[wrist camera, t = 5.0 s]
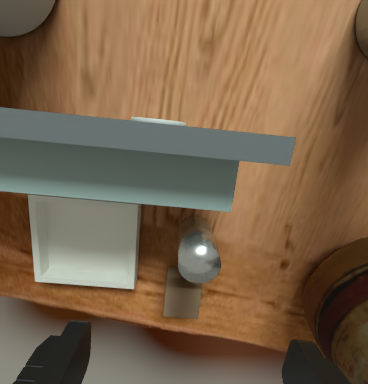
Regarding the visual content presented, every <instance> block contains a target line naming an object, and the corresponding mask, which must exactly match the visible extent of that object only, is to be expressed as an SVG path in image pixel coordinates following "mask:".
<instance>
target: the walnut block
mask: <svg viewBox="0 0 368 384" xmlns="http://www.w3.org/2000/svg"><path fill="white" fill-rule="evenodd" d="M201 292H202V287H201V283H192V282H190V281H188V280H186V279H185V278H184V277H183V276H182V275H181V274H180V272H179V269H178V267H173V266H168V271H167V281H166V291H165V302H164V313H163V316H164V317H178V318H192V319H198V314H199V307H200V300H201Z"/></svg>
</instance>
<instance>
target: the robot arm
mask: <svg viewBox="0 0 368 384" xmlns="http://www.w3.org/2000/svg"><path fill="white" fill-rule="evenodd" d="M356 36H357V41H358V44H359V46H360V48H361V50H362V51H363V52H364V54H365V55H366V56H367V57H368V0H362V1H361V3H360V6H359V9H358V12H357V17H356ZM90 349H91V322H84V321H73V320H71V321H69V323H68V324H67V326H66V327H65V329H64V331H63V332H62V334H61V336H53V335H51V336H50V337H49V338H47V339H46V340H45V341H44V342H43V343H42V344H40V345H39V346H38V347H37V348H36V349H35V351H34V352H33V354H32V356H31V357H30V359H29V360H28V362H27V363H26V366H25V367H24V368H23V369H22V371H21V373H20V374H19V375H18V377H17V379H16V381H15V382H14V383H13V384H81V383H82V380H83V378H84V375H85V373H86V370H87V366H88V363H89V357H90ZM282 378H283V383H284V384H351V383H350V382H349V380H348V379H347V378H346V376H345V375H344V373H343V372H342V371H341V370H340V369H339V368H338V367H337V366H336V365H335V364H334V363H333V362H332V361H331V360H330V359H329V358H324V356H323V355H322V353H321V352H320V350H319V349H318V347H317V346H316V344H315V343H313V342H312V341H302V340H292V341H291V342H290V345H289V348H288V351H287V354H286V358H285V361H284V364H283V368H282Z"/></svg>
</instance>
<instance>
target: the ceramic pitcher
mask: <svg viewBox="0 0 368 384" xmlns="http://www.w3.org/2000/svg"><path fill="white" fill-rule="evenodd" d="M303 306H304V311H305V315H306V318H307V321H308V323H309V326H310V328H311V331H312V333H313V335H314V338H315V340H316V342H317V344H318V346H319V347H320V349H321V350H322V352H323V354H324V355H325V357H326V358H329V359H330V360H331V361H332V362H333V363H334V364H335V365H336V366H337V367H338V368H339V369H340V370H341V371H342V372H343V373H344V375H345V376H346V378H347V379H348V380H349V382H350V383H351V384H368V237H366V238H362V239H359V240H356V241H354V242H352V243H350V244H348V245H346V246H344V247H342V248H341V249H339V250H338V251H336V252H334V253H333V254H332V255H330V256H329V257H328V258H326V259H325V260H324V261H323V262H322V263H321V264H320V265H319V266H318V267H317V268H316V270H315V271H314V272H313V273H312V275H311V276H310V278H309V279H308V281H307V283H306V285H305V288H304V292H303Z"/></svg>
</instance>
